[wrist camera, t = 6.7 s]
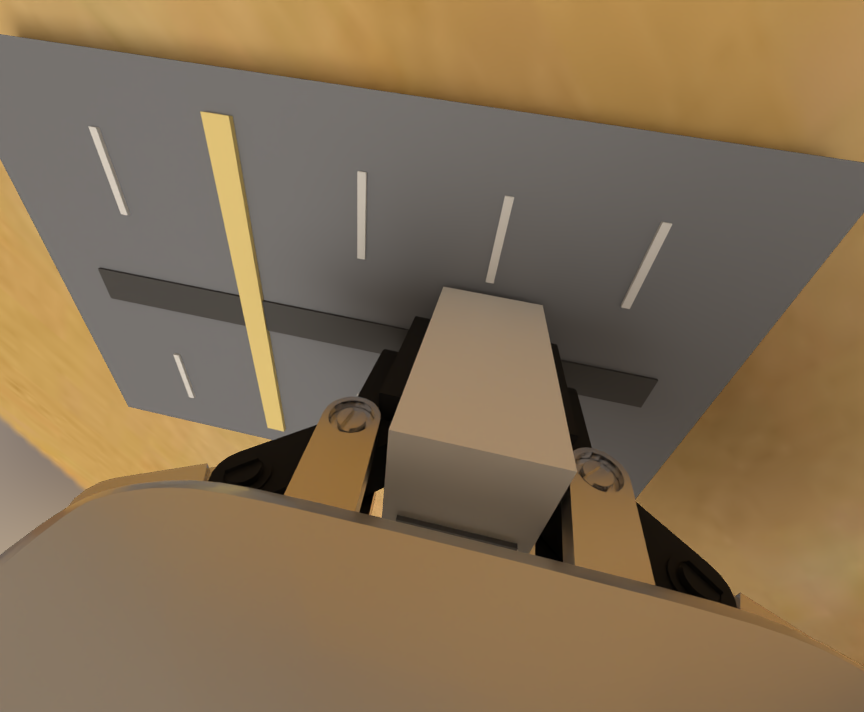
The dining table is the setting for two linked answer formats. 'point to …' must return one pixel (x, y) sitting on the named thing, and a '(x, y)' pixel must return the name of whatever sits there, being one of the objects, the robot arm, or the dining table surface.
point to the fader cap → (480, 426)
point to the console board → (398, 237)
